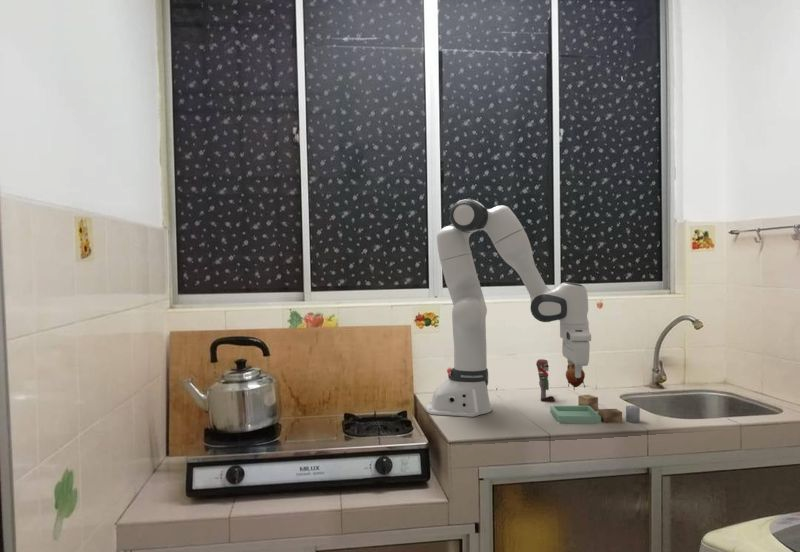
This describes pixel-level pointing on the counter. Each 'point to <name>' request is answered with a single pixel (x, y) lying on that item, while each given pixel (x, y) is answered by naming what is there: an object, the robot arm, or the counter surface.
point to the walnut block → (610, 415)
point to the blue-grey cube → (633, 414)
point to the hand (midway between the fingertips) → (574, 375)
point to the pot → (572, 378)
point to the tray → (575, 414)
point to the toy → (544, 380)
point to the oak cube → (588, 401)
